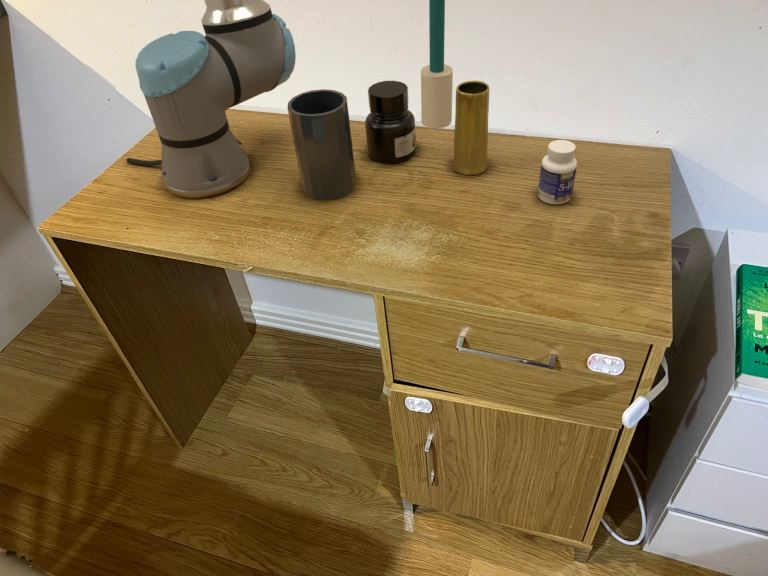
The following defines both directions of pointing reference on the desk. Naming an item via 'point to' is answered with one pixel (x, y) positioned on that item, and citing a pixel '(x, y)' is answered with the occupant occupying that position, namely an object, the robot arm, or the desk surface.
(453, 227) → the desk surface
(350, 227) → the desk surface
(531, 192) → the desk surface
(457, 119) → the vase
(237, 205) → the desk surface
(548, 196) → the pill bottle
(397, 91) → the ink bottle
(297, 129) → the grey pvc pipe
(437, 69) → the brush
